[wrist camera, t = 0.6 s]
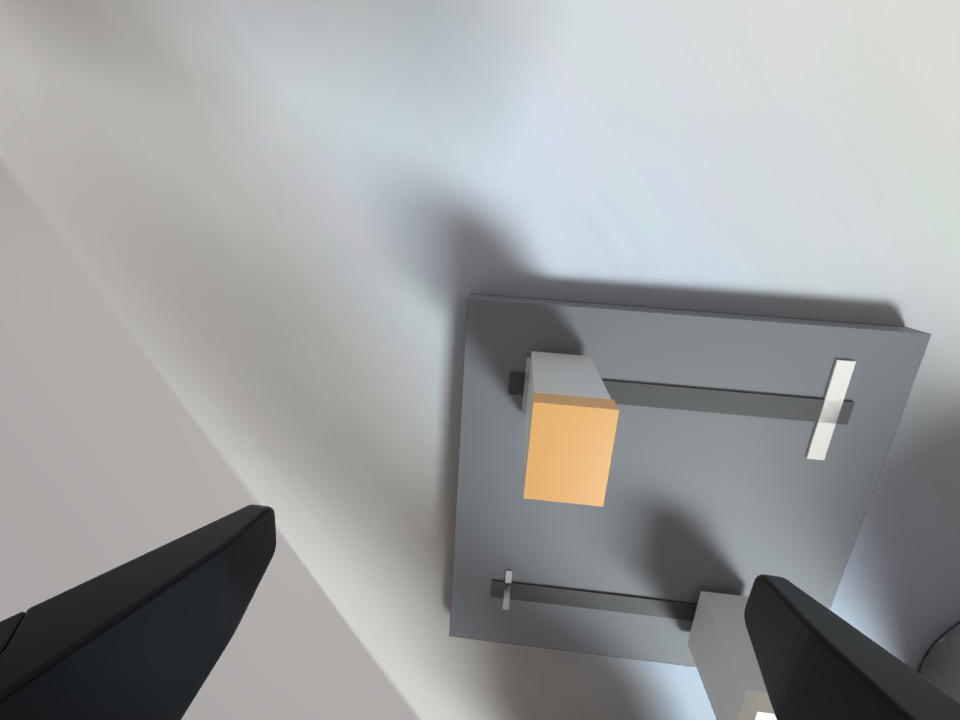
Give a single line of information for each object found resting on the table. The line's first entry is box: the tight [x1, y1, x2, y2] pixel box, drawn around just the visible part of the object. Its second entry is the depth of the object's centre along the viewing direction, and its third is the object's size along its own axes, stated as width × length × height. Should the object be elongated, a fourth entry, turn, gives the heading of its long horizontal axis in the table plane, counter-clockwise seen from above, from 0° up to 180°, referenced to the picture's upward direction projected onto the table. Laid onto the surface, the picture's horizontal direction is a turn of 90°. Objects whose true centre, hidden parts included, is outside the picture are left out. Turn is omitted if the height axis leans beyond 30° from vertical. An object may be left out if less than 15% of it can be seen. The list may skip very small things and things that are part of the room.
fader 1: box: [523, 351, 619, 507], centre depth 17 cm, size 3×2×6 cm
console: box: [449, 294, 931, 667], centre depth 22 cm, size 18×18×1 cm
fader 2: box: [688, 591, 777, 720], centre depth 19 cm, size 3×2×6 cm
